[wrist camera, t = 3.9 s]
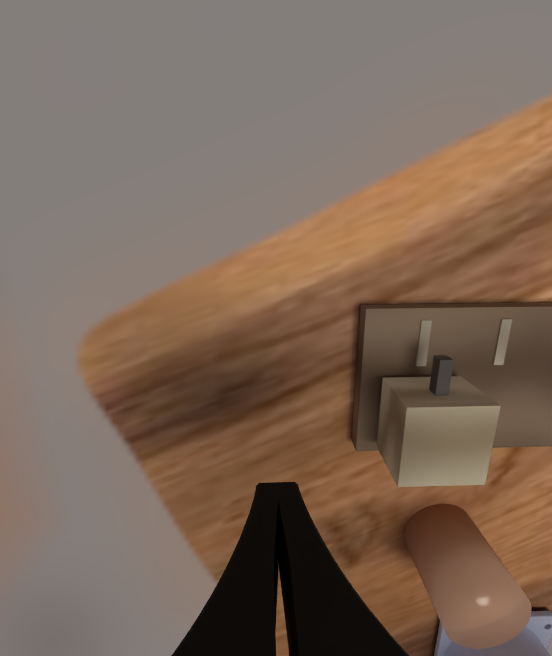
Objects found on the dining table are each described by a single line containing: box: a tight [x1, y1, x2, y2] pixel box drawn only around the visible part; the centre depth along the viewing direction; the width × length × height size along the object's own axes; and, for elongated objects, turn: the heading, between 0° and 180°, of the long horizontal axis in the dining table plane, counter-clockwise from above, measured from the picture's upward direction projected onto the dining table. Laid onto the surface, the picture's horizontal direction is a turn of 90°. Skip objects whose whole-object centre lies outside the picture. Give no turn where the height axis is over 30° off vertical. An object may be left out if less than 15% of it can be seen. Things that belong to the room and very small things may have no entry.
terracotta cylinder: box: [404, 504, 532, 649], centre depth 19 cm, size 4×4×5 cm
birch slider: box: [377, 355, 501, 487], centre depth 16 cm, size 6×4×3 cm
